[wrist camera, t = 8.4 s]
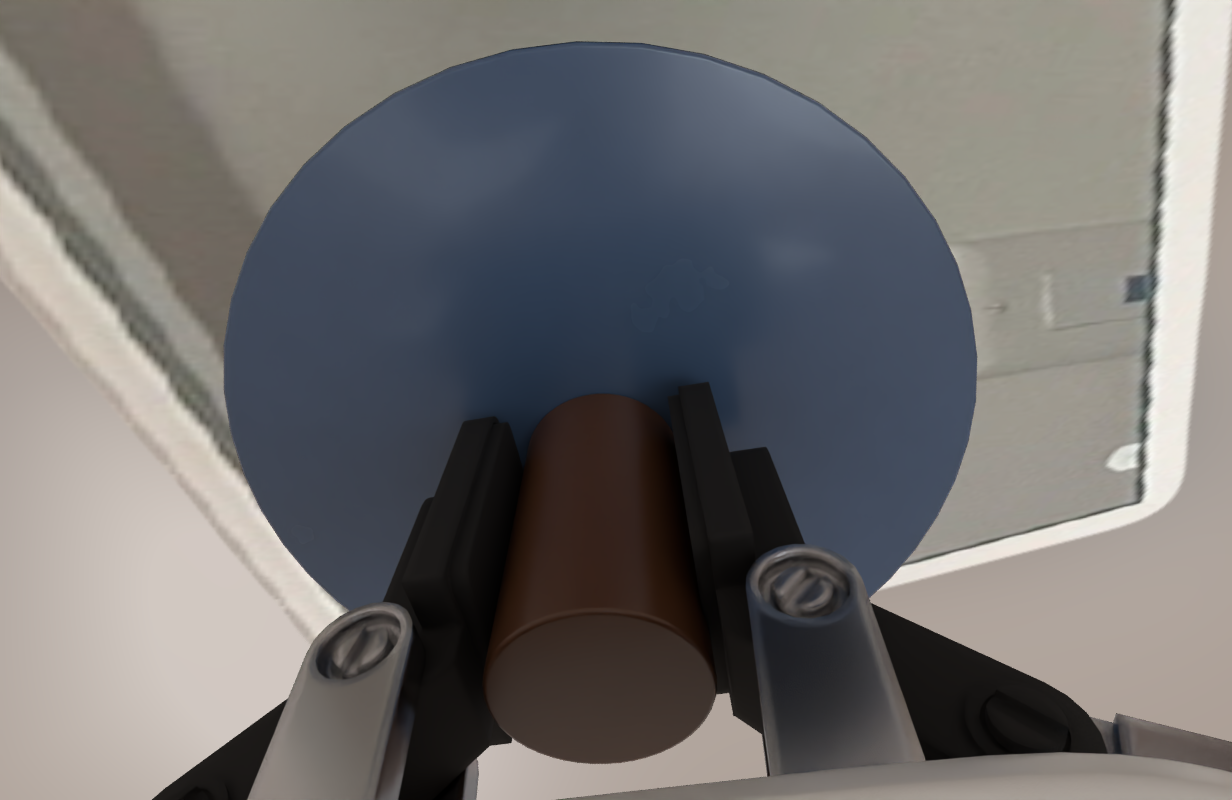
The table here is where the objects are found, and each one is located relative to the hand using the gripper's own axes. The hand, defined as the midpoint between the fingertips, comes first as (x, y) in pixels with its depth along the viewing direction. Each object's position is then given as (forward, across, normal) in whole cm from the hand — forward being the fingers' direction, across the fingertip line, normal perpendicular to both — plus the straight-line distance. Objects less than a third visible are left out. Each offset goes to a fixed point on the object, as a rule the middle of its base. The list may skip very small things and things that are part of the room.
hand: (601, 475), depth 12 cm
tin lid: (+1, 0, 0) cm, 1 cm away
